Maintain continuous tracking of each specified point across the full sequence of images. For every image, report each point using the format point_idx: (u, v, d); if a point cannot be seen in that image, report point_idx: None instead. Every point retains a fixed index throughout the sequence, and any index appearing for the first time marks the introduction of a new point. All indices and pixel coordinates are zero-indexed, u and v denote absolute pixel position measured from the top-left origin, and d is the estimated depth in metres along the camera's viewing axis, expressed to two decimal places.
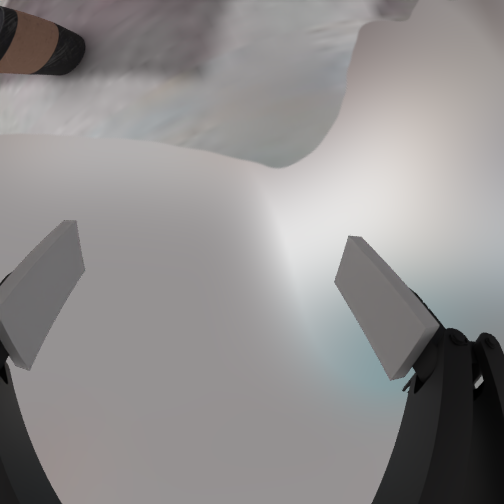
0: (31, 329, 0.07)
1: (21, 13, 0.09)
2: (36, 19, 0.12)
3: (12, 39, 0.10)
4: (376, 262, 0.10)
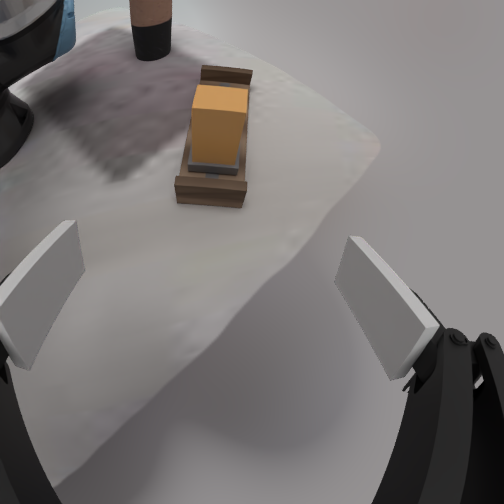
0: (31, 329, 0.07)
1: None
2: None
3: None
4: (376, 262, 0.10)
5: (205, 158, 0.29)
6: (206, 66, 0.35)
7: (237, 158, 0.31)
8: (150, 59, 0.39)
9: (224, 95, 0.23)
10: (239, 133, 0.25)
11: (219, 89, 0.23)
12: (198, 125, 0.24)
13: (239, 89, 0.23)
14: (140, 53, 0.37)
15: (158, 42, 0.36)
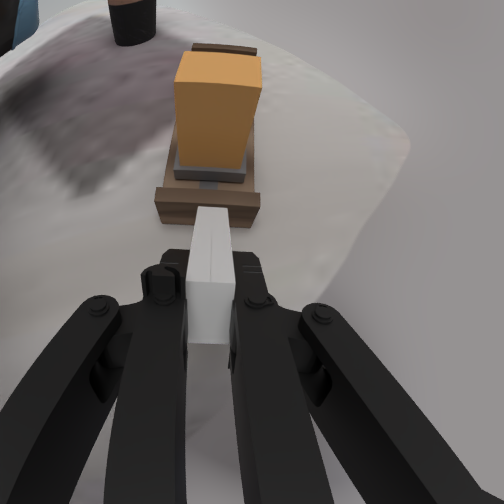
0: None
1: None
2: None
3: None
4: (216, 227, 0.11)
5: (198, 160, 0.20)
6: (198, 44, 0.25)
7: (243, 159, 0.22)
8: (131, 44, 0.30)
9: (226, 64, 0.14)
10: (249, 121, 0.16)
11: (217, 56, 0.14)
12: (185, 110, 0.15)
13: (247, 56, 0.14)
14: (119, 37, 0.28)
15: (140, 23, 0.26)
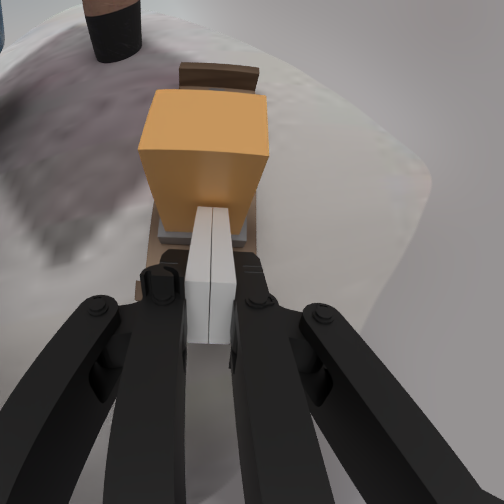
0: (208, 303, 0.10)
1: None
2: None
3: None
4: (217, 227, 0.11)
5: (187, 227, 0.17)
6: (187, 64, 0.22)
7: None
8: (113, 60, 0.26)
9: (215, 112, 0.10)
10: (250, 193, 0.13)
11: (203, 97, 0.10)
12: (162, 182, 0.11)
13: (247, 96, 0.11)
14: (99, 52, 0.24)
15: (121, 35, 0.23)
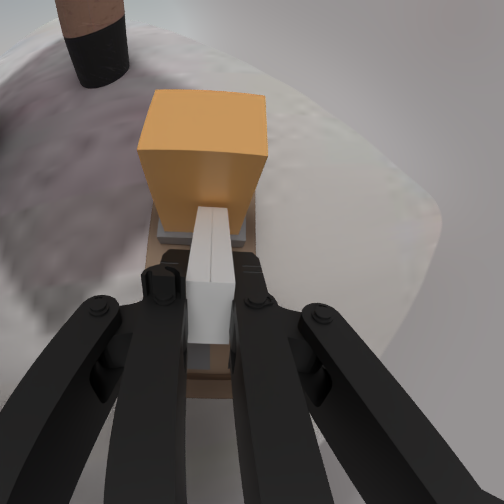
0: None
1: None
2: None
3: None
4: (216, 227, 0.11)
5: (186, 227, 0.17)
6: None
7: None
8: (97, 85, 0.24)
9: (214, 112, 0.10)
10: (249, 193, 0.13)
11: (202, 97, 0.10)
12: (161, 182, 0.11)
13: (246, 96, 0.11)
14: (82, 77, 0.23)
15: (105, 58, 0.21)
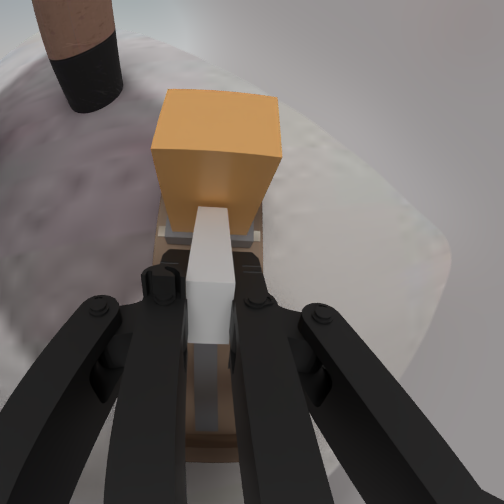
0: None
1: None
2: None
3: None
4: (216, 227, 0.11)
5: None
6: None
7: None
8: (88, 110, 0.23)
9: (228, 113, 0.10)
10: (260, 194, 0.13)
11: (215, 97, 0.10)
12: (173, 181, 0.12)
13: (259, 97, 0.11)
14: (71, 101, 0.21)
15: (94, 81, 0.20)
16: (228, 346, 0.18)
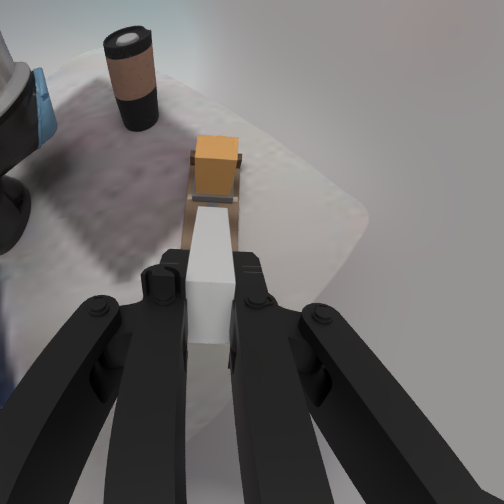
0: None
1: None
2: None
3: None
4: (216, 227, 0.11)
5: (206, 191, 0.38)
6: (195, 152, 0.40)
7: (232, 189, 0.39)
8: (138, 130, 0.44)
9: (220, 145, 0.31)
10: (232, 174, 0.33)
11: (215, 139, 0.31)
12: (200, 169, 0.32)
13: (231, 138, 0.31)
14: (127, 124, 0.42)
15: (144, 114, 0.41)
16: None
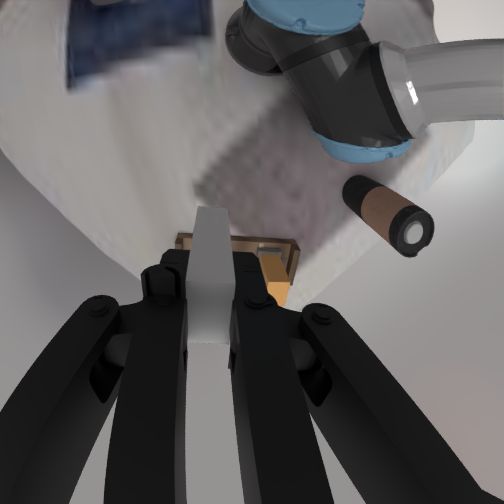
0: None
1: (407, 202, 0.35)
2: (399, 195, 0.37)
3: None
4: (216, 227, 0.11)
5: None
6: (298, 253, 0.51)
7: None
8: (343, 192, 0.50)
9: (278, 296, 0.45)
10: None
11: (284, 293, 0.44)
12: (265, 276, 0.45)
13: (284, 302, 0.45)
14: (349, 184, 0.48)
15: (351, 207, 0.48)
16: None
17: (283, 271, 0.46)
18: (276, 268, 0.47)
